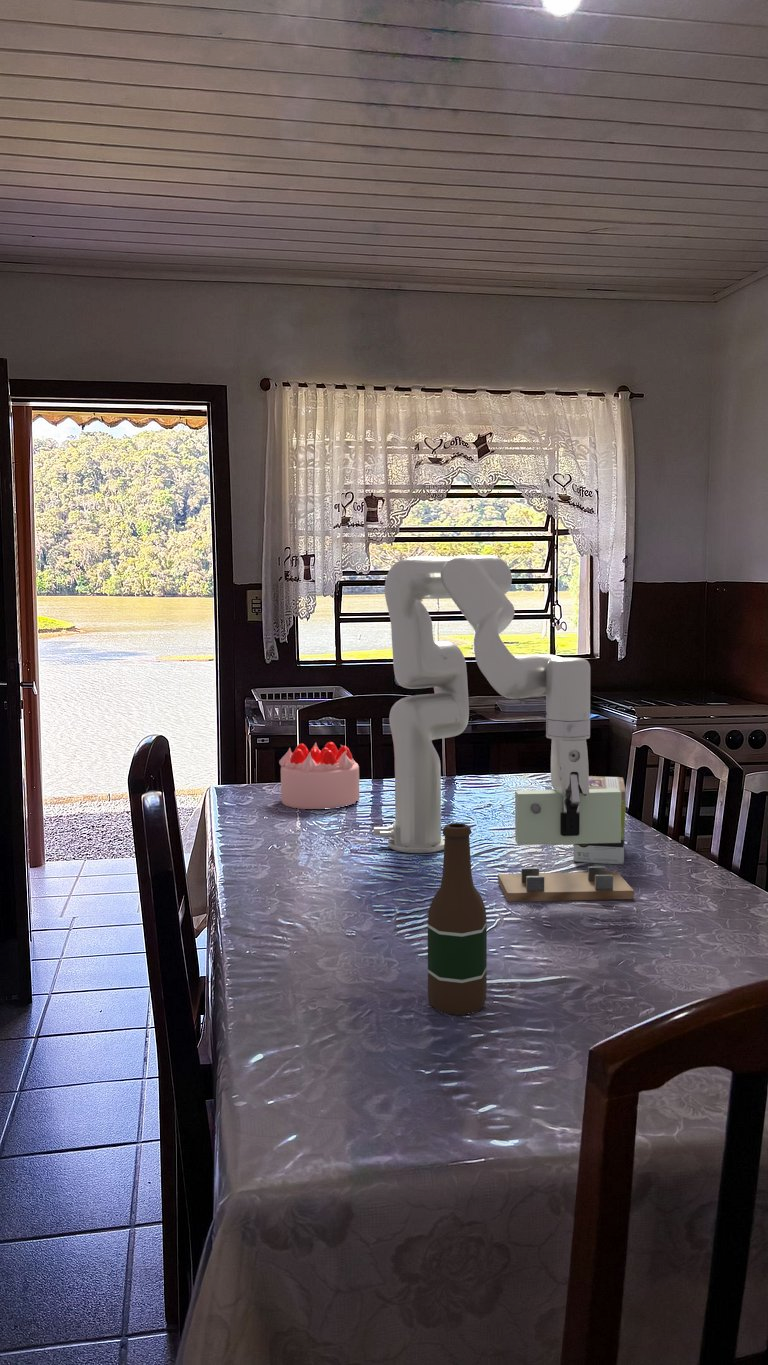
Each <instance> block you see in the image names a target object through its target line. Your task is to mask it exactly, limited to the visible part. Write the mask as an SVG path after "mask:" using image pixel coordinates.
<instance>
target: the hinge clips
mask: <svg viewBox="0 0 768 1365" xmlns="http://www.w3.org/2000/svg"><path fill="white" fill-rule="evenodd" d="M520 869H521V870H520V871H521V872H520V874H521V882H522V883H526V891H527V892H530V891H544V876H539V873H540V869H539V867H537V866H535V867H521V868H520ZM606 869H607V867H606V866H605V865H604V866H601V865H598V866H595V865H593V866H592V865H591V866H587V872H588V881H595V890H613V875H606V872H607V870H606Z"/></svg>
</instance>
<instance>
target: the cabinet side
mask: <svg viewBox="0 0 768 1365" xmlns="http://www.w3.org/2000/svg"><path fill="white" fill-rule="evenodd" d="M606 875H613V890H595V881H588V871H587V872H581V871H580V872H539V876H544V891H530V892H527V891H526V883H522V882H521V873H498V874H497V879H498V880H497V882H498V884H499V887H500V889H501V890H502V894H503V895H504V897H505V900H506V901H507V902H547V901H548V902H551V901H552V902H553V901H556V902H558V901H596V900H597V901H598V900H600V901H601V900H603V901H604V900H634V897H635V896H634V895H635V890H634V889H633V888H632V887H631V886H630V885H629V883H628V882H627V881H626V880H625V879H624V878H623V877H622V876H621V875H620V873H618V871H606Z"/></svg>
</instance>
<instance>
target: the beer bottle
mask: <svg viewBox="0 0 768 1365" xmlns="http://www.w3.org/2000/svg"><path fill="white" fill-rule="evenodd" d="M472 833H473V832H472V829H471V826H470V825H468V824H465V823H462V822H453V823H448V824H445V826H443V830H442V832H441V835H442V836H444V837H445V843H444V849H443V861H442V862H443V863H442V877H441V883H440V887H439V888H438V890H437V891H436V893H435V895H434V896H433V897H432V900H431V902H430V904H429V905H430V906H429V909H428V912H427V914H428V915H427V994H428V995H427V997H428V1004H429V1005H430V1006H431V1007H432V1006H433V1007H434V1009H435V1010H436V1009H437V1010H438V1011H437V1010H436V1011H437V1012H439V1011H440V1012H442V1013H441V1014H444V1013H449V1014H448V1015H452V1014H457V1015H456V1016H459V1015H463V1016H465V1015H464V1014H467V1015H469V1014H468V1013H471V1014H473V1013H472V1012H475V1013H478V1012H477V1011H479V1012H481V1010H482V1007H483V1006H484V1004H485V1002H486V1000H487V986H488V985H487V981H488V980H487V977H488V976H487V975H488V974H487V963H488V962H487V958H488V956H487V954H488V953H487V951H488V950H487V948H488V946H487V944H488V942H487V939H488V938H487V935H488V934H487V933H488V931H487V929H488V926H487V924H488V922H487V911H486V910H487V909H486V906H485V903H484V900H483V898H482V897H483V896H482V895H481V894H480V893H479V891H478V890H477V889H476V887H475V885H474V881H473V880H474V878H473V874H472V863H471V862H472V860H471V847H470V846H471V845H470V843H471V842H470V835H471V834H472ZM433 1007H432V1008H433ZM440 1012H439V1013H440Z"/></svg>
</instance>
